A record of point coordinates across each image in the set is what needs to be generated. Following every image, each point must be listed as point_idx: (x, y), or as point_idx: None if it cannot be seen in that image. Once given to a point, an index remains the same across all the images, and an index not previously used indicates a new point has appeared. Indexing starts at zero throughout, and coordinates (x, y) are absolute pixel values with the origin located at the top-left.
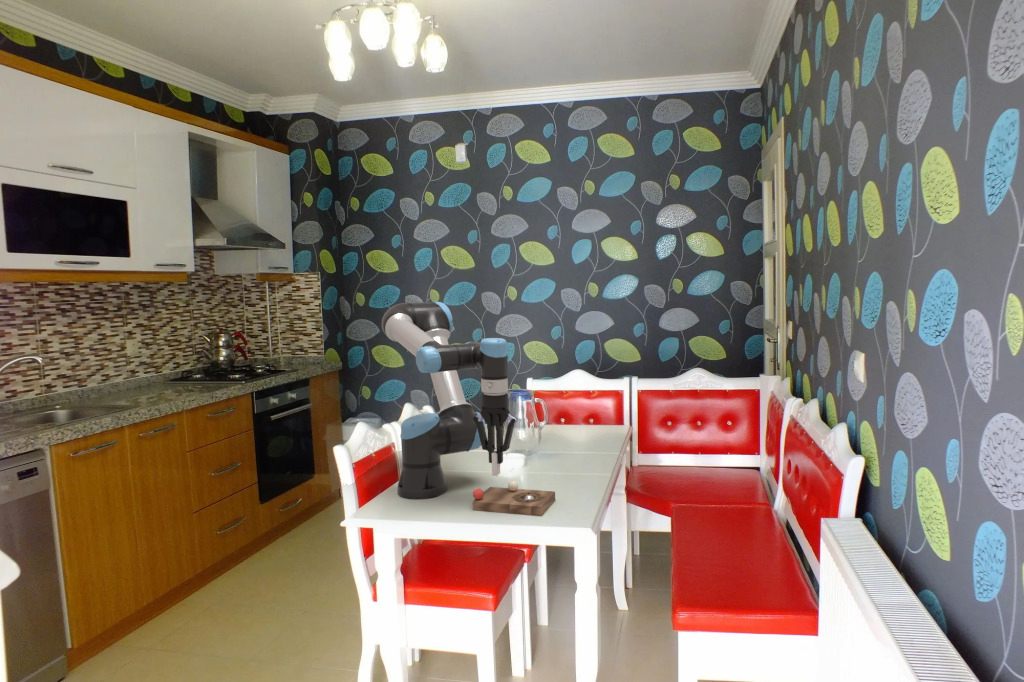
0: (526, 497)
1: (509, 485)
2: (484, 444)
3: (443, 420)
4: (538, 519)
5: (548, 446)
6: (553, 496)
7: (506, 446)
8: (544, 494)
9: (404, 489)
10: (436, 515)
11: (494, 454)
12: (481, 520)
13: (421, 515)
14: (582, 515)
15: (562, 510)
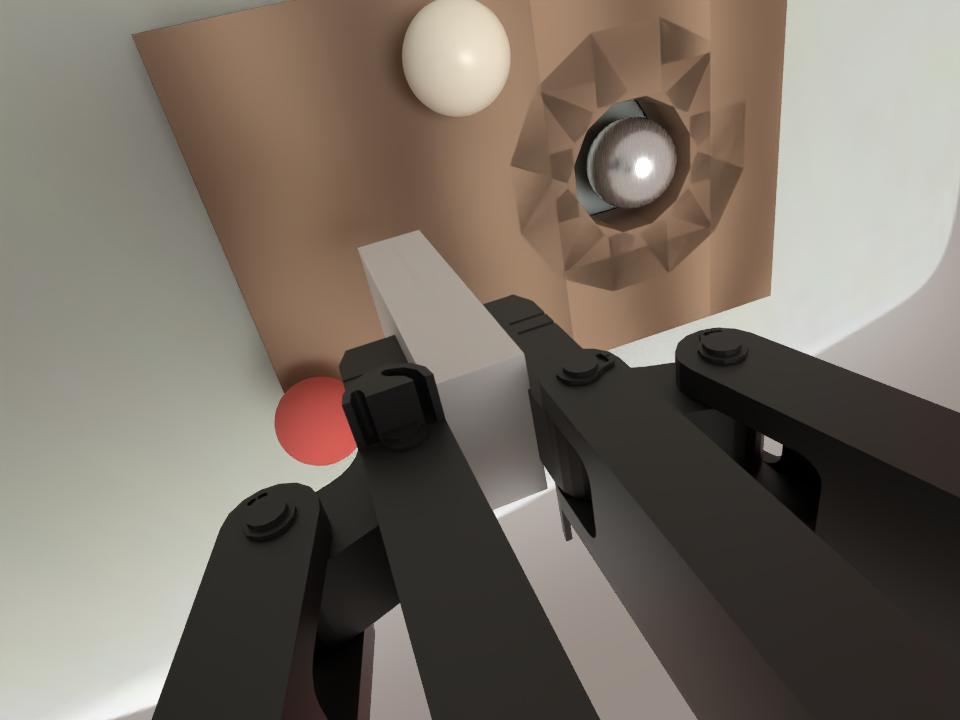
0: (637, 198)
1: (447, 115)
2: (352, 699)
3: None
4: (724, 317)
5: None
6: None
7: (791, 500)
8: (729, 28)
9: None
10: (161, 582)
11: (506, 490)
12: None
13: (75, 632)
14: (927, 137)
15: (817, 109)
